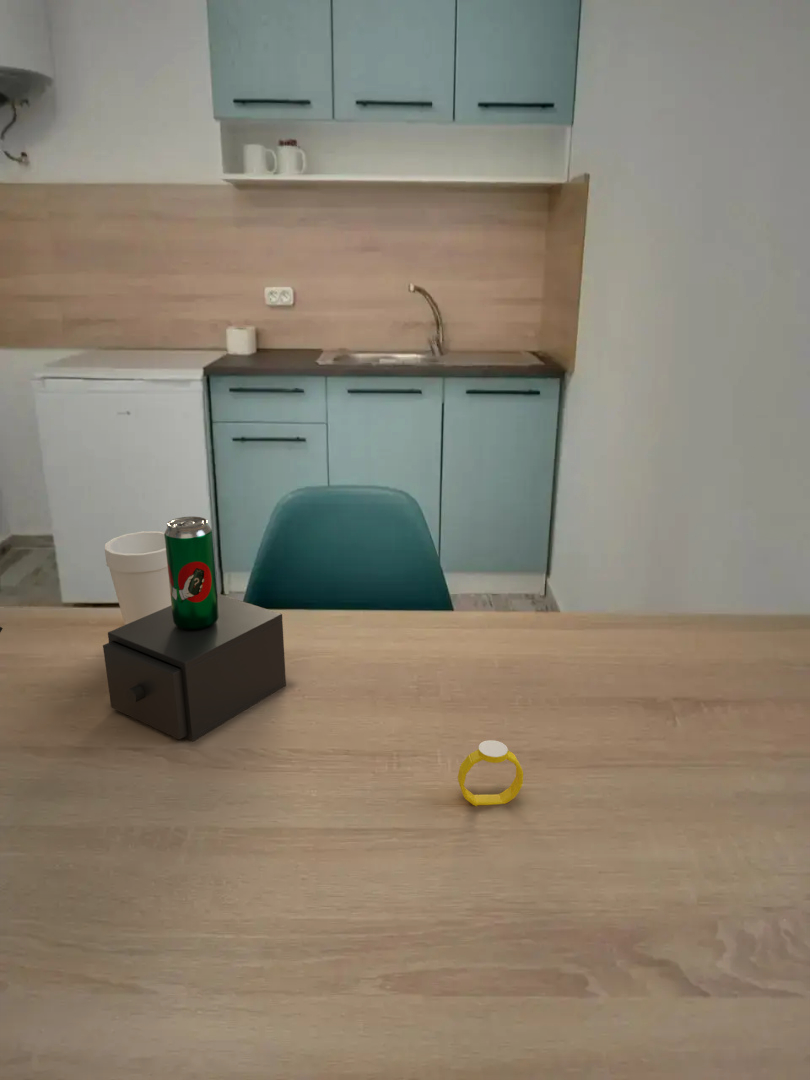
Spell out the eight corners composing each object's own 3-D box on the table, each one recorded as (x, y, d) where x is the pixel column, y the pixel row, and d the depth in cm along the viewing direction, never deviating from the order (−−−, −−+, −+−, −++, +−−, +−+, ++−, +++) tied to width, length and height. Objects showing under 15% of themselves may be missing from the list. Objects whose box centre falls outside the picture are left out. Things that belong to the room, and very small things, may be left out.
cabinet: (192, 743, 88) (184, 663, 85) (117, 708, 95) (107, 632, 92) (286, 687, 99) (282, 613, 96) (213, 658, 106) (207, 589, 103)
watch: (461, 814, 77) (462, 759, 75) (455, 795, 80) (456, 742, 78) (523, 808, 78) (527, 754, 76) (516, 790, 80) (519, 737, 78)
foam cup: (169, 650, 108) (159, 557, 104) (103, 645, 110) (91, 553, 105) (197, 619, 117) (189, 533, 113) (136, 615, 118) (126, 529, 114)
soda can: (228, 619, 95) (221, 519, 91) (197, 636, 90) (187, 532, 86) (196, 610, 97) (187, 512, 93) (163, 626, 93) (153, 524, 89)
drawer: (170, 745, 86) (163, 678, 84) (101, 712, 92) (93, 649, 90) (269, 686, 98) (265, 626, 95) (202, 660, 104) (196, 603, 101)
